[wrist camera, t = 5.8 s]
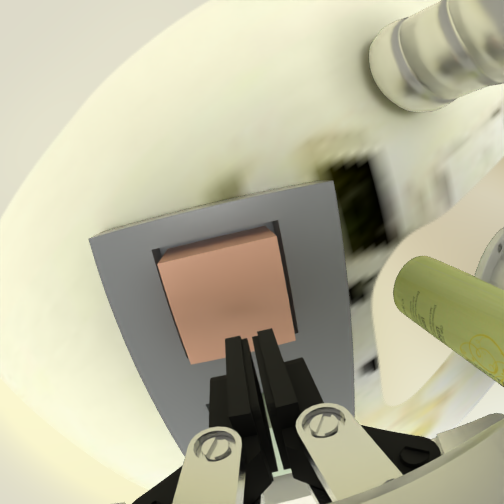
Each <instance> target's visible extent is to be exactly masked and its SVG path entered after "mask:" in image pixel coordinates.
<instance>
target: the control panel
mask: <svg viewBox="0 0 504 504" xmlns="http://www.w3.org/2000/svg"><path fill="white" fill-rule="evenodd" d="M262 226H266V227H267V228H268V229H269V230H270V231H272V232H273V233H274V234H275V235H276V236H277V240H278V245H279V251H280V256H281V261H282V266H283V272H284V277H285V282H286V288H287V293H288V299H289V304H290V310H291V316H292V321H293V327H294V333H295V339H296V341H292V342H288V343H284V344H281V345H278V347H279V349H280V352H281V355H282V358H283V361H284V362H286V361H290V360H294V359H297V358H301V357H302V358H303V359H304V361H305V363H306V365H307V367H308V369H309V371H310V374H311V376H312V378H313V380H314V382H315V384H316V387H317V389H318V391H319V393H320V395H321V397H322V400H323V402H324V403H333V404H338V405H340V406H343V407H344V408H346V409H347V410H348V411H349V412H350V413H351V414H352V416H353V417H354V415H355V407H354V363H353V342H352V327H351V313H350V301H349V290H348V281H347V271H346V263H345V254H344V246H343V239H342V232H341V225H340V218H339V212H338V205H337V199H336V193H335V187H334V182H333V181H314V182H308V183H303V184H298V185H292V186H287V187H282V188H277V189H273V190H268V191H263V192H258V193H253V194H249V195H244V196H240V197H235V198H231V199H226V200H222V201H218V202H213V203H209V204H205V205H201V206H197V207H193V208H189V209H184V210H181V211H177V212H173V213H169V214H165V215H161V216H157V217H153V218H150V219H146V220H142V221H139V222H135V223H131V224H128V225H124V226H121V227H117V228H114V229H110V230H107V231H103V232H101V233H99V234H97V235H95V236H93V237H91V238H89V242H90V245H91V249H92V252H93V256H94V259H95V262H96V265H97V268H98V272H99V275H100V278H101V281H102V284H103V286H104V289H105V292H106V295H107V298H108V301H109V303H110V306H111V309H112V311H113V314H114V317H115V319H116V322H117V324H118V327H119V329H120V332H121V334H122V336H123V339H124V341H125V344H126V346H127V348H128V350H129V353H130V355H131V357H132V359H133V362H134V364H135V366H136V368H137V370H138V372H139V375H140V377H141V379H142V381H143V383H144V385H145V387H146V389H147V391H148V393H149V395H150V397H151V399H152V401H153V402H154V404H155V406H156V408H157V410H158V412H159V414H160V415H161V417H162V419H163V421H164V423H165V424H166V426H167V428H168V430H169V431H170V433H171V435H172V437H173V438H174V440H175V442H176V443H177V445H178V447H179V448H180V450H181V451H182V453H183V455H184V456H186V452H187V448H188V445H189V443H190V441H191V440H192V438H193V437H194V436H195V435H196V434H198V433H200V432H201V431H203V430H206V429H208V428H209V396H210V378H212V377H217V376H223V375H226V358H222V359H217V360H212V361H207V362H202V363H197V364H192V365H191V363H190V361H189V358H188V355H187V353H186V350H185V347H184V344H183V342H182V339H181V336H180V333H179V330H178V327H177V325H176V322H175V319H174V316H173V313H172V310H171V307H170V304H169V301H168V298H167V294H166V291H165V288H164V285H163V282H162V278H161V275H160V272H159V268H158V265H157V264H158V262H159V261H160V259H161V258H162V256H163V255H164V253H165V252H166V251H167V249H169V248H173V247H177V246H181V245H185V244H189V243H193V242H197V241H202V240H206V239H210V238H214V237H218V236H223V235H227V234H231V233H236V232H240V231H244V230H249V229H253V228H257V227H262ZM251 355H252V359H253V363H254V366H255V370H256V374H257V378H258V382H259V385H260V389H261V393H263V388H262V383H261V379H260V374H259V369H258V364H257V359H256V355H255V351H253V352H251Z"/></svg>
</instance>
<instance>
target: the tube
mask: <svg viewBox="0 0 504 504" xmlns="http://www.w3.org/2000/svg"><path fill="white" fill-rule="evenodd" d="M393 295H394V302H395V304H396V306H397V308H398V309H399V310H400V311H401V312H402V313H403V314H404V315H406V316H407V317H408V318H410V319H411V320H412V321H414V322H415V323H417V324H418V325H419V326H421V327H422V328H423V329H425V330H426V331H427V332H429V333H430V334H432V335H433V336H434V337H436V338H437V339H438V340H440V341H441V342H442V343H444V344H445V345H447V346H448V347H449V348H451V349H452V350H454V351H455V352H456V353H458V354H459V355H460V356H462V357H463V358H464V359H466V360H467V361H469V362H470V363H471V364H473V365H474V366H475V367H477V368H478V369H479V370H481V371H482V372H484V373H485V374H487V375H488V376H489V377H491V378H492V379H493V380H495V381H496V382H498V383H499V384H500V385H501V386H503V387H504V290H502V289H500V288H498V287H496V286H494V285H491V284H489V283H487V282H485V281H483V280H481V279H479V278H476V277H474V276H472V275H470V274H468V273H465V272H463V271H461V270H459V269H457V268H454V267H452V266H450V265H447V264H445V263H443V262H441V261H438V260H436V259H433V258H430V257H428V256H419V257H415V258H413V259H411V260H410V261H408V262H407V263H406V264H405V265H404V266H403V268H402V269H401V270H400V272H399V274H398V276H397V278H396V281H395V285H394V290H393Z"/></svg>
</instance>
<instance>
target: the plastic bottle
mask: <svg viewBox="0 0 504 504" xmlns="http://www.w3.org/2000/svg"><path fill="white" fill-rule="evenodd" d="M369 64H370V69H371V73H372V76H373V78H374V81H375V83H376V84H377V86H378V88H379V89H380V90H381V91H382V93H383V94H384V95H385V96H386V97H387V98H388V99H389V100H391V101H392V102H393V103H395V104H396V105H397V106H399V107H401V108H403V109H405V110H408V111H412V112H432V111H435V110H438V109H440V108H442V107H444V106H446V105H448V104H450V103H451V102H453V101H454V100H456V99H457V98H459V97H461V96H464V95H466V94H469V93H472V92H474V91H477V90H479V89H482V88H485V87H487V86H491V85H497V84H502V83H504V0H441V1H440V2H438V3H435V4H433V5H431V6H429V7H427V8H425V9H423V10H422V11H420V12H418V13H416V14H414V15H412V16H410V17H407V18H404V19H401V20H397V21H395V22H393V23H391V24H389V25H387V26H386V27H384V28H383V29H381V31H380V32H379V34H378V35H377V36H376V38H375V39H374V41H373V42H372V44H371V46H370V49H369Z"/></svg>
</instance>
